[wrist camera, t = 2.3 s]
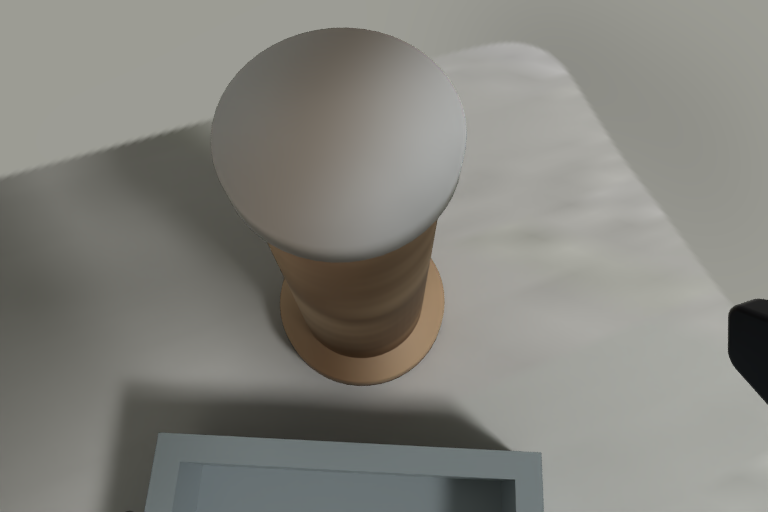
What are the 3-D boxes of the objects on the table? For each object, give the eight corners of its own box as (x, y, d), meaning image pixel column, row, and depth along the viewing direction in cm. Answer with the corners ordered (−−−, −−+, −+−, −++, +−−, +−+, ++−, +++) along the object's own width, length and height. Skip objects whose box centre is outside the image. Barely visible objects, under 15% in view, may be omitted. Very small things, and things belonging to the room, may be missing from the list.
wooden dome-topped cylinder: (443, 237, 24) (490, 13, 13) (441, 390, 22) (495, 280, 11) (293, 231, 24) (210, 4, 13) (275, 381, 22) (158, 265, 11)
